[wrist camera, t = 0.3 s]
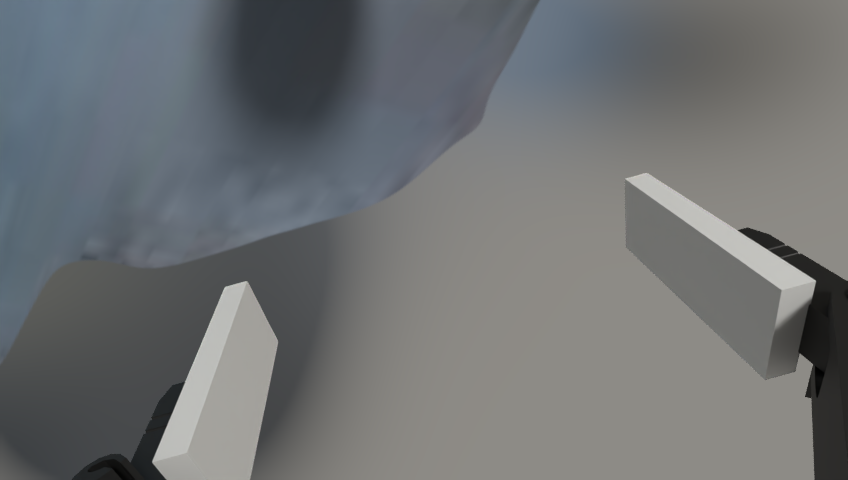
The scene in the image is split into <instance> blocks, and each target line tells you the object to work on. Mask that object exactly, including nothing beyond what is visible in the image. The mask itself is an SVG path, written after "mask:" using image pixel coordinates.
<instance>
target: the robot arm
mask: <svg viewBox="0 0 848 480" xmlns="http://www.w3.org/2000/svg"><path fill="white" fill-rule="evenodd" d="M625 218H626V248H627V249H629V251H631V252H632V253H633V254H634V255H635V256H636V257H637V258H638V259H639V260H640V261H641V262H642V263H643V264H644V265H645V266H646V267H647V268H648V269H649V270H650V271H651V272H653V273H654V274H655V275H656V276H657V277H658V278H659V279H660V280H661V281H662V282H663V283H664V284H665V285H666V286H667V287H668V288H669V289H670V290H671V291H672V292H673V293H675V294H676V295H677V296H678V297H679V298H680V299H681V300H682V301H683V302H684V303H685V304H686V305H687V306H688V307H689V308H690V309H691V310H692V311H693V312H694V313H696V315H697V316H699V317H700V318H701V319H702V320H703V321H704V322H705V323H706V324H707V325H708V326H709V327H710V328H711V329H712V330H713V331H714V332H715V333H716V334H717V335H718V336H720V337H721V338H722V339H723V340H724V341H725V342H726V343H727V344H728V345H729V346H730V347H731V348H732V349H733V350H734V351H735V352H736V353H737V354H738V355H739V356H740V357H741V358H743V359H744V360H745V361H746V362H747V363H748V364H749V365H750V366H751V367H752V368H753V369H754V370H755V371H756V372H757V373H758V374H759V375H760V376H761V377H762V378H763V379H765V380H767V379H770V378H774V377H778V376H781V375H785V374H789V373H792V372H795V371H796V366H797V362H798V357H799V353H800V354H802V355H803V356H804V357H805V358H806V359H808V360H809V361H810V362H811V363H813V367H812V371H811V375H810V379H809V383H808V387H807V391H806V395H805V397H808V398H811V397H812V422H813V447H814V448H813V449H814V473H815V474H814V475H815V480H848V281H846V280H844V279H842V278H841V277H839V276H838V275H836V274H834V273H833V272H831V271H829V270H828V269H826V268H824V267H822V266H821V265H819V264H818V263H816V262H814V261H813V260H811V259H809V258H808V257H806V256H804V255H803V254H798V252H797V251H796V250H794V249H793V248H791V247H789V246H785V244H784V243H783V242H781V241H779V240H778V239H776V238H774V237H772V236H771V235H769V234H766V233H763V232H760V231H756V230H753V229H750V228H744V229H741V230H735V229H734V228H732V227H731V226H729V225H728V224H726V223H725V222H723V221H721V220H720V219H718V218H717V217H715V216H714V215H712V214H711V213H709V212H707V211H706V210H704V209H702V208H701V207H700V206H698V205H696V204H694V203H693V202H692V201H690V200H688V199H687V198H685V197H684V196H682V195H680V194H679V193H678V192H676V191H674V190H673V189H671V188H669V187H668V186H666V185H665V184H663V183H662V182H660V181H659V180H657V179H656V178H654V177H652V176H651V175H649V174H648V173H644V174H641V175H637V176H633V177H630V178H626V179H625ZM277 345H278V341H277V338H276V336H275V334H274V332H273V331H272V329H271V327H270V325H269V323H268V321H267V319H266V317H265V315H264V313H263V311H262V309H261V307H260V305H259V303H258V301H257V299H256V297H255V295H254V293H253V292H252V290H251V287H250V286H249V284H248V282H247V281H246V282H242V283H238V284H234V285H231V286H227V287H225V288H224V291H223V293H222V296H221V298H220V300H219V303H218V305H217V307H216V310H215V312H214V315H213V317H212V319H211V322H210V324H209V327H208V329H207V331H206V334H205V336H204V339H203V341H202V344H201V346H200V348H199V351H198V353H197V356H196V358H195V360H194V363H193V365H192V368H191V370H190V372H189V375H188V377H187V380H186V382H182V383H179V384H175V385H172V387H171V388H170V389H169V390H168V391H167V393H166V394H165V395H164V396H163V397H162V398H161V399H160V401H159V402H158V404H157V407H156V409H155V411H154V413H153V416H152V420H151V421H150V422H149V424H148V426H147V428H146V434H144V435H143V437H142V439H141V441H140V444H139V446H138V448H137V450H136V452H135V454H134V457H133V459H132V461H131V463H130V462H129V461H128V460H127V458H125V457H124V456H122V455H121V454H110V455H107V456H104V457H102V458H99V459H97V460H96V461H94V462H92V463H91V464H89V465H87V466H86V467H85V468H83V469H82V470H81V471H80V472H79V473H78V474H77V475H76V476H74V478H73V479H72V480H250V477H251V472H252V467H253V463H254V458H255V453H256V448H257V443H258V438H259V433H260V428H261V423H262V418H263V414H264V408H265V404H266V399H267V394H268V389H269V384H270V379H271V375H272V370H273V364H274V359H275V355H276V350H277Z"/></svg>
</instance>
